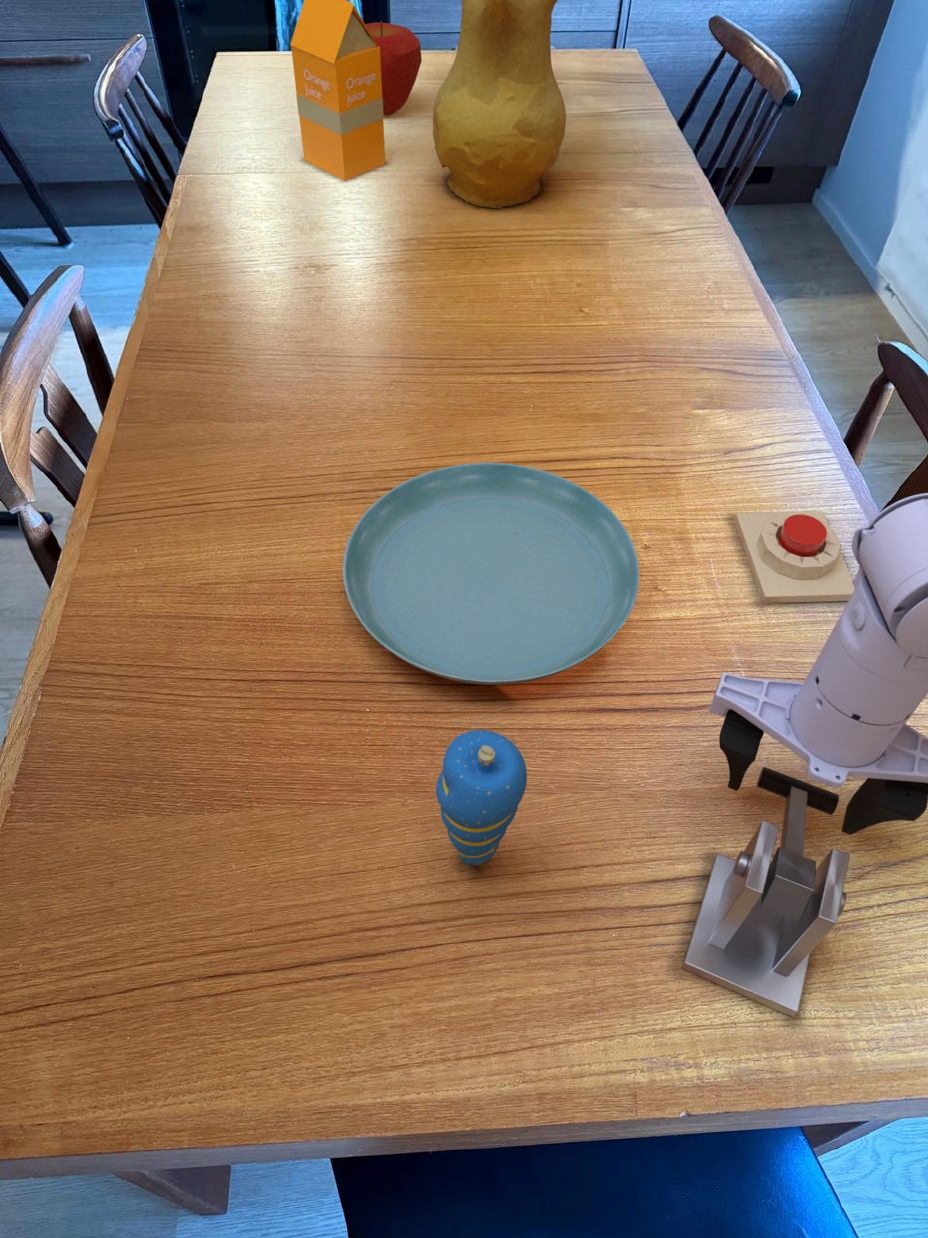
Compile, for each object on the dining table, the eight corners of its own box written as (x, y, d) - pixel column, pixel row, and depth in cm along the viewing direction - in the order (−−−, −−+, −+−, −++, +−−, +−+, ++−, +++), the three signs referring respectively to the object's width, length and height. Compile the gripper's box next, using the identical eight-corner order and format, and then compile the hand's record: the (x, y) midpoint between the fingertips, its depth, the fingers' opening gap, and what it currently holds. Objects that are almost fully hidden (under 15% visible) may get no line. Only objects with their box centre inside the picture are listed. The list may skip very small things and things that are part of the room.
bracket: (713, 858, 61) (752, 788, 53) (817, 901, 59) (873, 834, 51) (681, 968, 56) (718, 908, 48) (793, 1018, 54) (850, 963, 47)
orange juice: (345, 143, 129) (331, -21, 114) (386, 163, 125) (378, -4, 110) (302, 160, 126) (283, -8, 110) (344, 181, 122) (329, 11, 106)
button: (826, 556, 76) (832, 543, 75) (784, 557, 76) (790, 544, 74) (813, 526, 78) (819, 513, 77) (773, 527, 78) (778, 514, 77)
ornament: (452, 816, 62) (455, 693, 51) (523, 840, 61) (543, 720, 50) (425, 883, 59) (422, 769, 47) (500, 910, 58) (515, 799, 46)
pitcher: (402, 184, 121) (408, -40, 102) (490, 147, 131) (510, -63, 112) (500, 231, 114) (526, 1, 95) (585, 189, 124) (623, -27, 105)
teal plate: (426, 459, 86) (426, 431, 83) (669, 540, 80) (676, 513, 77) (290, 637, 72) (284, 610, 69) (571, 752, 66) (576, 727, 63)
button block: (855, 601, 75) (866, 581, 74) (762, 603, 75) (770, 583, 73) (819, 517, 82) (828, 497, 80) (733, 519, 81) (740, 499, 79)
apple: (436, 110, 137) (435, 20, 128) (386, 132, 132) (382, 39, 123) (384, 90, 142) (380, 1, 132) (334, 110, 136) (327, 19, 127)
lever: (754, 785, 61) (767, 757, 60) (828, 813, 60) (842, 785, 59) (735, 896, 51) (750, 864, 50) (824, 933, 50) (840, 901, 49)
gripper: (720, 690, 50) (671, 806, 60) (998, 790, 46) (893, 895, 56) (750, 602, 54) (698, 725, 64) (1006, 688, 50) (907, 803, 61)
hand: (791, 799), depth 61 cm, fingers open, 7 cm apart
